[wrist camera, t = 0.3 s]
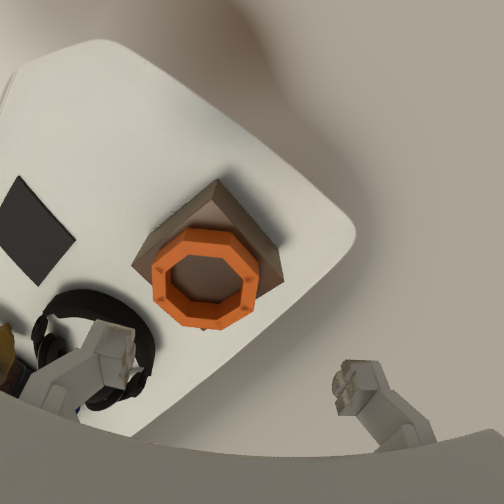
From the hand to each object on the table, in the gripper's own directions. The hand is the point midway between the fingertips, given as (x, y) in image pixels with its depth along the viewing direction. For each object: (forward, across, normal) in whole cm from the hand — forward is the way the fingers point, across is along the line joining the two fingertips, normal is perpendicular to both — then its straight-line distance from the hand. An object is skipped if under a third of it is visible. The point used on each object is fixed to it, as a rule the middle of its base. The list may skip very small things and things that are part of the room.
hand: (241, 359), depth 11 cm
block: (+22, +2, +7) cm, 23 cm away
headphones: (+22, +16, +26) cm, 38 cm away
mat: (+22, +26, +10) cm, 35 cm away
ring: (+16, +2, +7) cm, 17 cm away
